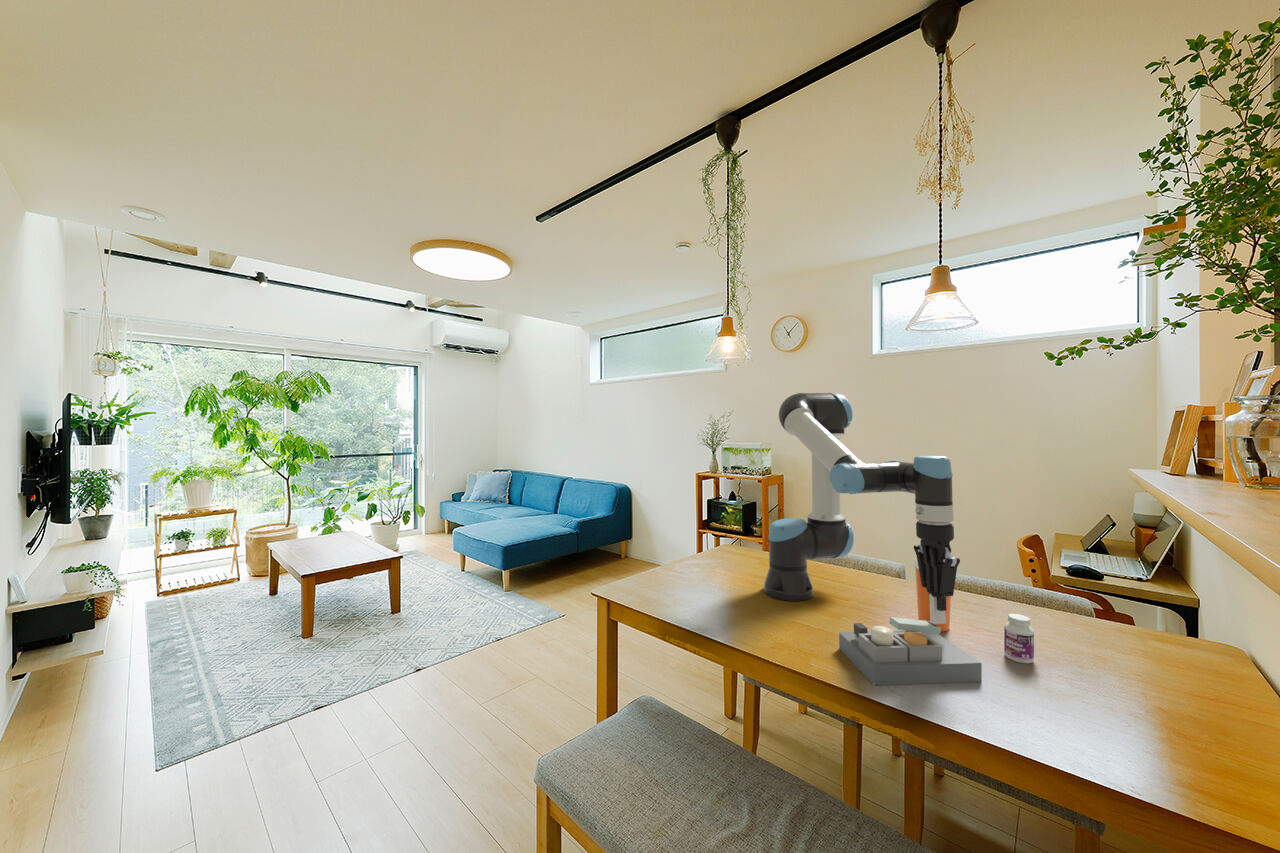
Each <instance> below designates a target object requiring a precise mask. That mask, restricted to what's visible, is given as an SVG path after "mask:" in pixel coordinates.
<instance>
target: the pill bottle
mask: <svg viewBox="0 0 1280 853" xmlns="http://www.w3.org/2000/svg"><path fill="white" fill-rule="evenodd" d="M1007 620H1008V622H1006V623H1005V624H1004V634H1003V636H1004V641H1003V642H1004V644H1003V648H1004V649H1003V650H1004V656H1005V657H1006V658H1007V659H1009V660H1011V661H1014V662H1017V663H1020V664H1031V663H1034V661H1035V631H1034V629H1033V628H1032V627H1031V618H1030V617H1028V616H1026V615H1023V614H1019V613H1018V614H1017V613H1009V614H1008V616H1007Z"/></svg>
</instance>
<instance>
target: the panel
mask: <svg viewBox="0 0 1280 853" xmlns="http://www.w3.org/2000/svg"><path fill="white" fill-rule="evenodd" d="M892 631H893V632H894V646H876V645H875V644H873V643H872V642H871V631H867V632H868V633H866V634H859V637H857V636H856V635H855V634H854V631H848V632H847V631H845V632H844V631H843V632H842V631H841V632H840V631H839V632H838V640H839V642H838V644H839V646H838V647H839V648H838V649H839V650H840V651H841V652H842V653H843V654H844V655H845V656H846V657H847V658H848V659H849V661H850V662H852V664H853V665H854V666H855V667H856V668H857V669H858V670H859V671H860V672H861V673H862V674H863V675H864V676H865V677H866V678H867V679H868V680H869V681H870V682H871V683H872V684H873V685H874V686H892V685H893V686H895V685H898V686H899V685H926V684H930V685H931V684H954V683H955V684H957V683H958V684H959V683H960V684H961V683H982V678H983V677H982V676H983V674H982V670H983V669H982V668H983V667H982V662H981V661H979V660H978V659H977V658H976V657H974V656H971V655H970V654H969V653H967V652H966V651H964V650H963V649H961V648H960V647H959V646H957V645H955V644H953V642H951V641H949V640H947V639H946V638H945V637H943V636H942V635H941V634H935V633H925V632H917V633H920V634H923V635H925V636H926V637H927V645H910V644H909V643H907V642H906V641H905V640H904V633H905V632H916V631H906V630H892Z"/></svg>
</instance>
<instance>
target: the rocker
mask: <svg viewBox="0 0 1280 853" xmlns="http://www.w3.org/2000/svg"><path fill="white" fill-rule="evenodd" d="M889 624H890V625H891V626H893V627H894V628H895V629H897V631H916V632H925V633H935V634H939V635H941V632H942V631H941V627H939V626H938V625H936V624H934V623H933V622H931V621H924V620H918V619H913V618H904V617H903V618H902V617H893V616H890V617H889Z"/></svg>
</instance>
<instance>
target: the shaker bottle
mask: <svg viewBox="0 0 1280 853" xmlns="http://www.w3.org/2000/svg"><path fill="white" fill-rule="evenodd" d="M913 564H914V565H913V566H914V570H915V586H916V599H917V600H916V603H917V606H916V607H917V620H924V621H930V605H929V593H928V592H927V589H926V588H925V587H922V584H921V578H920V572H919V567H918V561H917V556H915V558H914V559H913ZM951 603H952V596H947V597H946V624H936V625H938V626H939V627H941V632H947V631H949V630H950V628H951V627H950V624H951V621H950V619H951V606H952V605H951Z"/></svg>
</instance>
